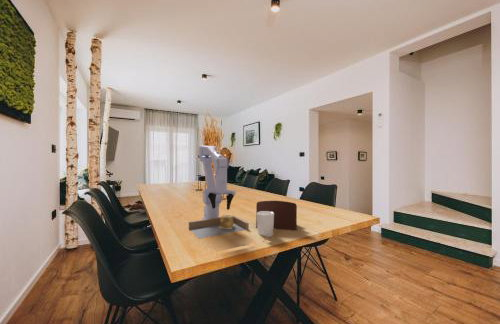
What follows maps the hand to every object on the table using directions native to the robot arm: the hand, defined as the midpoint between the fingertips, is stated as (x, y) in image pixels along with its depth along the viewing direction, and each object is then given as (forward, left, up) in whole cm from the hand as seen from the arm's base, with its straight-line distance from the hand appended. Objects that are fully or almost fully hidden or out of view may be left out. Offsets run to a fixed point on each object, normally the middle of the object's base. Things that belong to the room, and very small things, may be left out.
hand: (221, 208), depth 108 cm
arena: (+4, -3, -9) cm, 11 cm away
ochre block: (+3, +2, -8) cm, 9 cm away
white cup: (+20, +13, -10) cm, 26 cm away
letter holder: (+12, +26, -10) cm, 30 cm away
